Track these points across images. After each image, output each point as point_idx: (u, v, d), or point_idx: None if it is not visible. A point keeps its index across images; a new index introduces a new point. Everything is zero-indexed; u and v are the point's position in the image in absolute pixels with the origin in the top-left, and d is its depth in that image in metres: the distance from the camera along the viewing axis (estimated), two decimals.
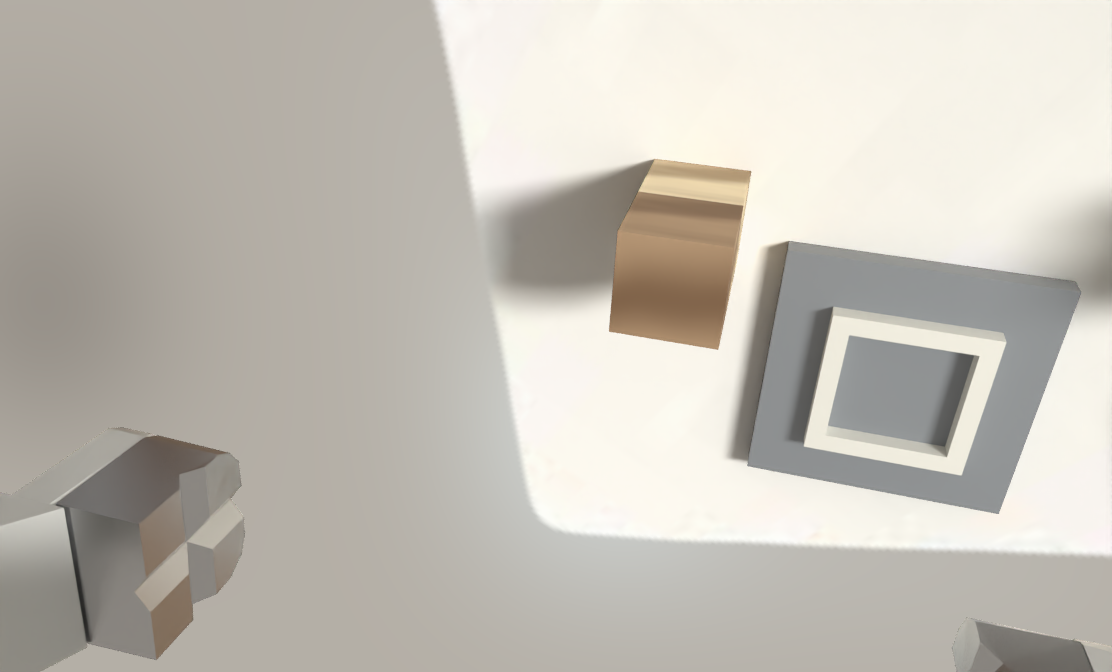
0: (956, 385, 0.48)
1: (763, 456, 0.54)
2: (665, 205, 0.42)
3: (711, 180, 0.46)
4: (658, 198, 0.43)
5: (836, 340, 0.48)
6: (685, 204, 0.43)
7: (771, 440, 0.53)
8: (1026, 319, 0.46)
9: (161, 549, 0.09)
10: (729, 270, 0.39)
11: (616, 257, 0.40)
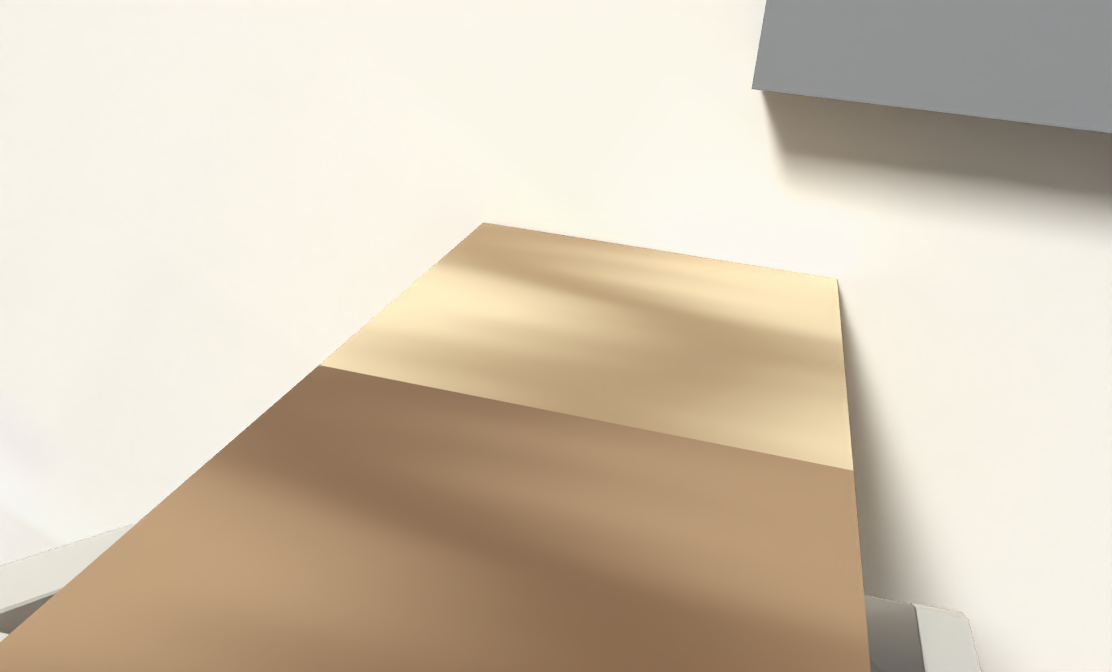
0: None
1: None
2: None
3: None
4: None
5: None
6: None
7: None
8: None
9: None
10: None
11: None
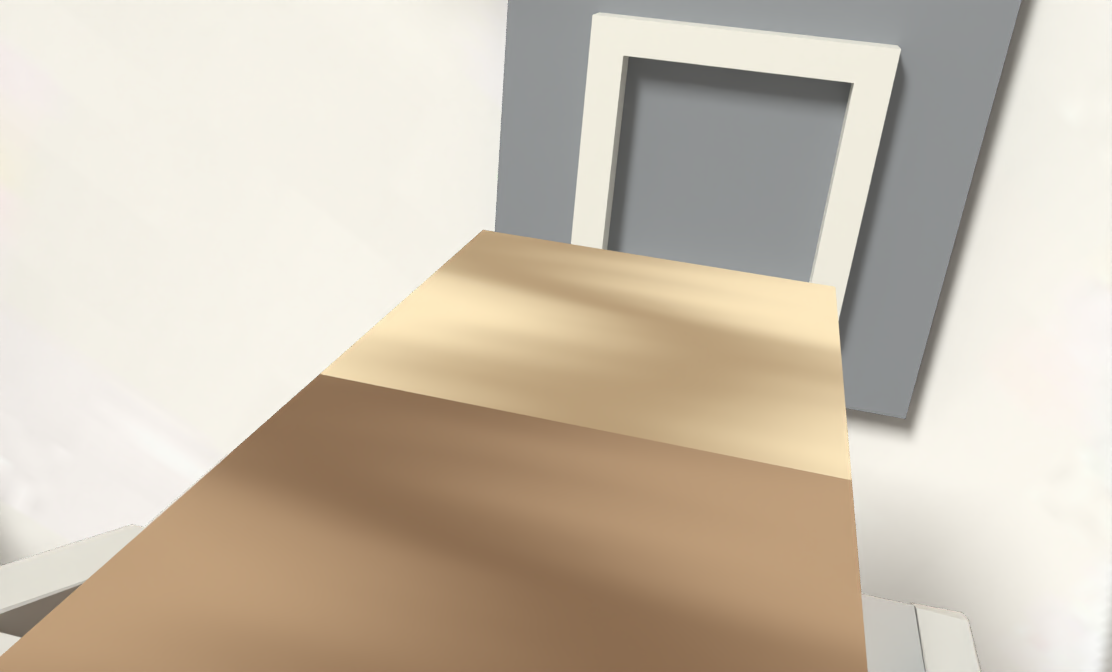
0: (711, 75, 0.27)
1: (881, 391, 0.29)
2: None
3: None
4: None
5: None
6: None
7: (844, 377, 0.29)
8: None
9: None
10: None
11: None
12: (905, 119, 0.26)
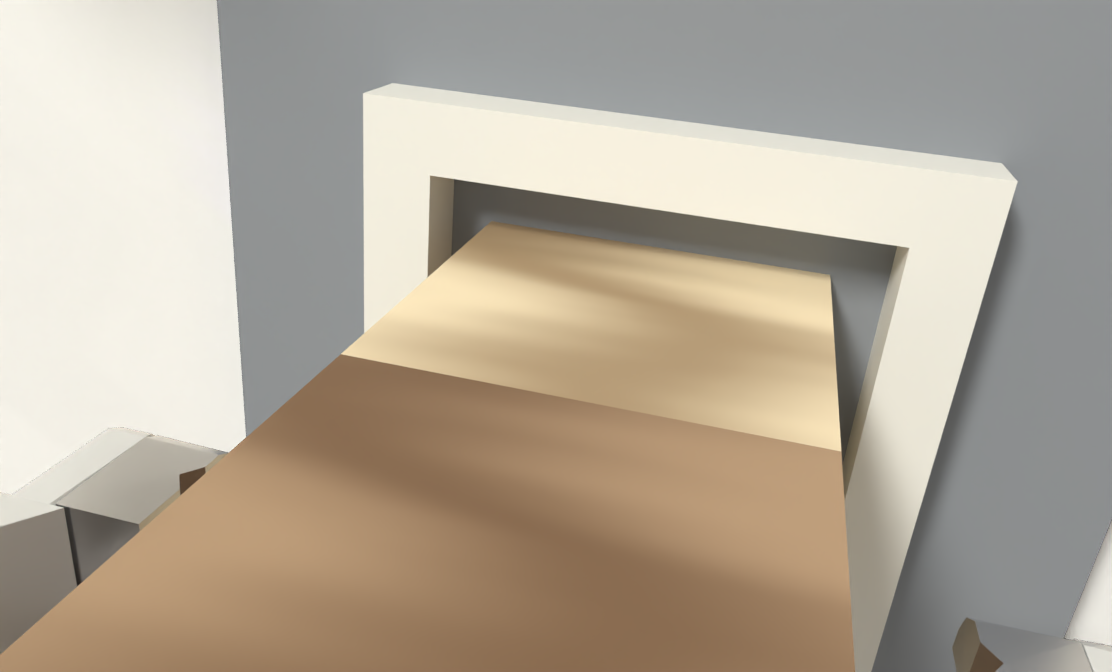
0: (614, 209, 0.13)
1: None
2: None
3: None
4: None
5: None
6: None
7: None
8: (334, 14, 0.13)
9: None
10: None
11: None
12: (1012, 310, 0.12)
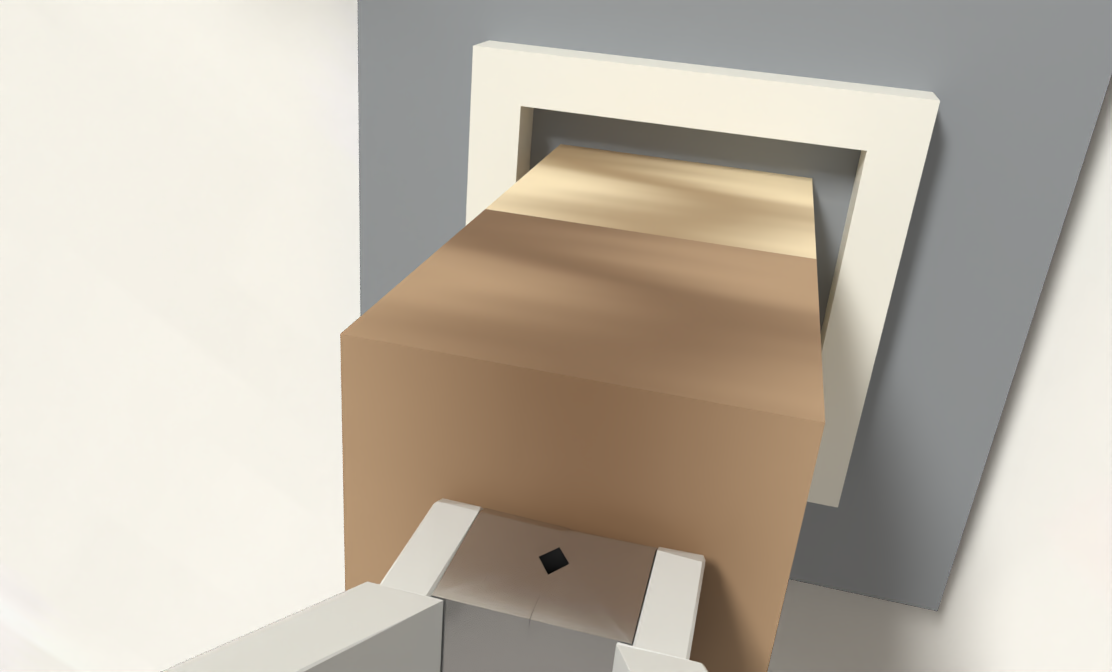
0: (653, 132, 0.18)
1: (904, 574, 0.20)
2: None
3: None
4: None
5: None
6: None
7: (851, 552, 0.21)
8: None
9: None
10: (438, 354, 0.10)
11: None
12: (943, 201, 0.17)
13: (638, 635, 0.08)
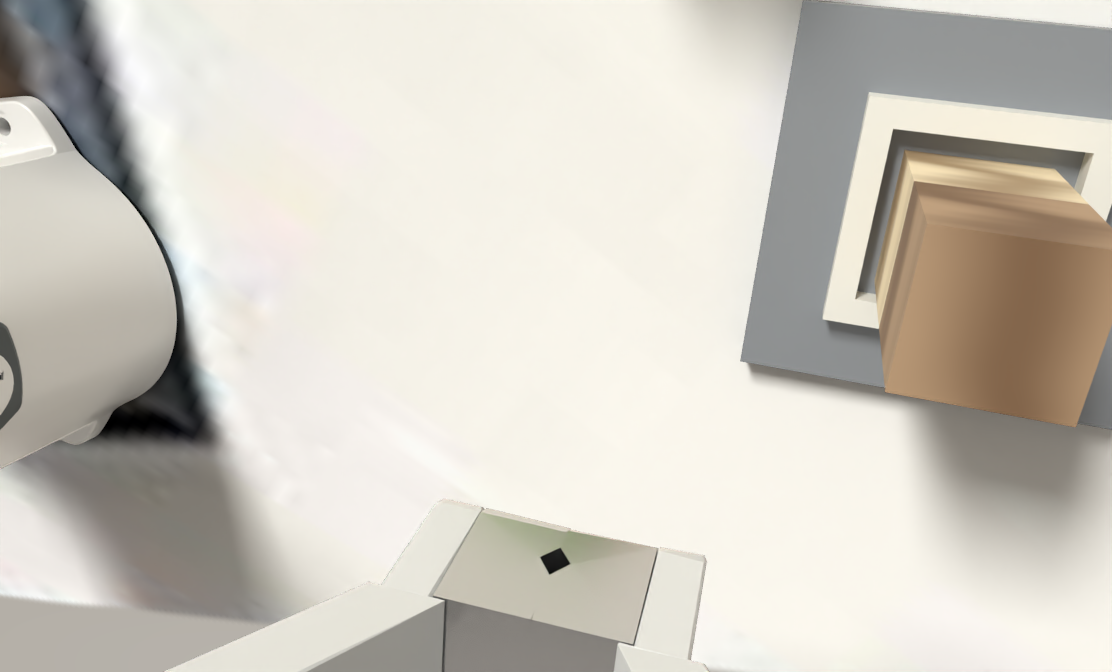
0: (962, 143, 0.32)
1: (1093, 406, 0.34)
2: (890, 298, 0.29)
3: (896, 213, 0.32)
4: (886, 304, 0.30)
5: (863, 315, 0.35)
6: (896, 268, 0.29)
7: None
8: (847, 64, 0.32)
9: None
10: (970, 231, 0.24)
11: (931, 399, 0.26)
12: None
13: (639, 636, 0.08)
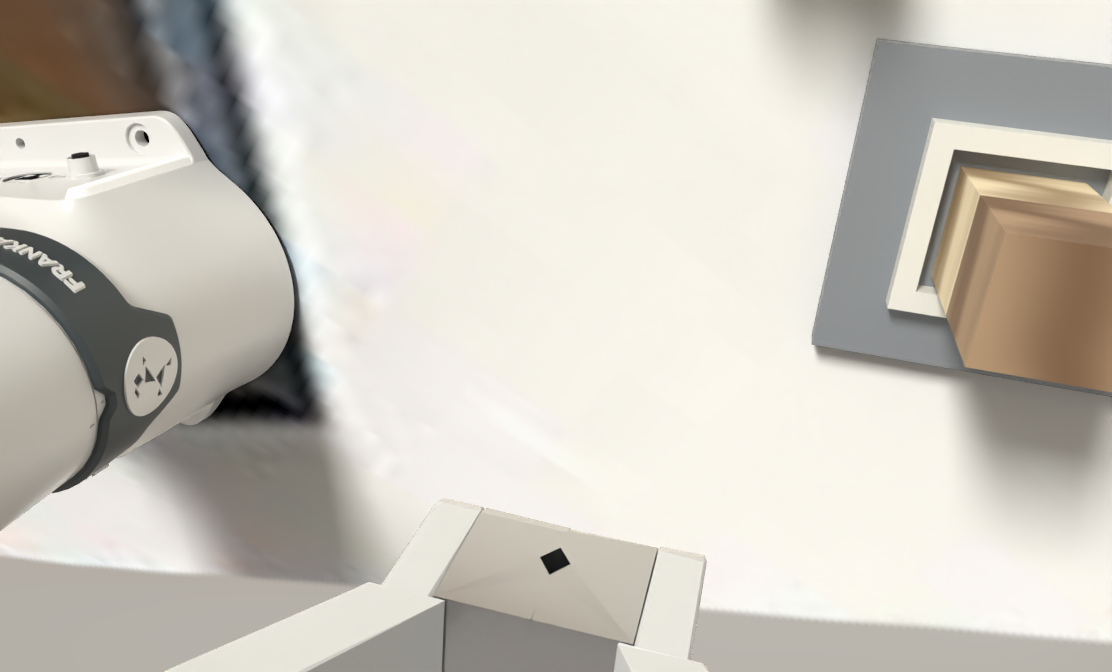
0: (1009, 161, 0.39)
1: None
2: (960, 291, 0.35)
3: (956, 220, 0.38)
4: (955, 295, 0.36)
5: (922, 304, 0.41)
6: (965, 266, 0.35)
7: None
8: (914, 94, 0.39)
9: None
10: (1039, 238, 0.30)
11: (1002, 372, 0.32)
12: None
13: (639, 635, 0.08)
